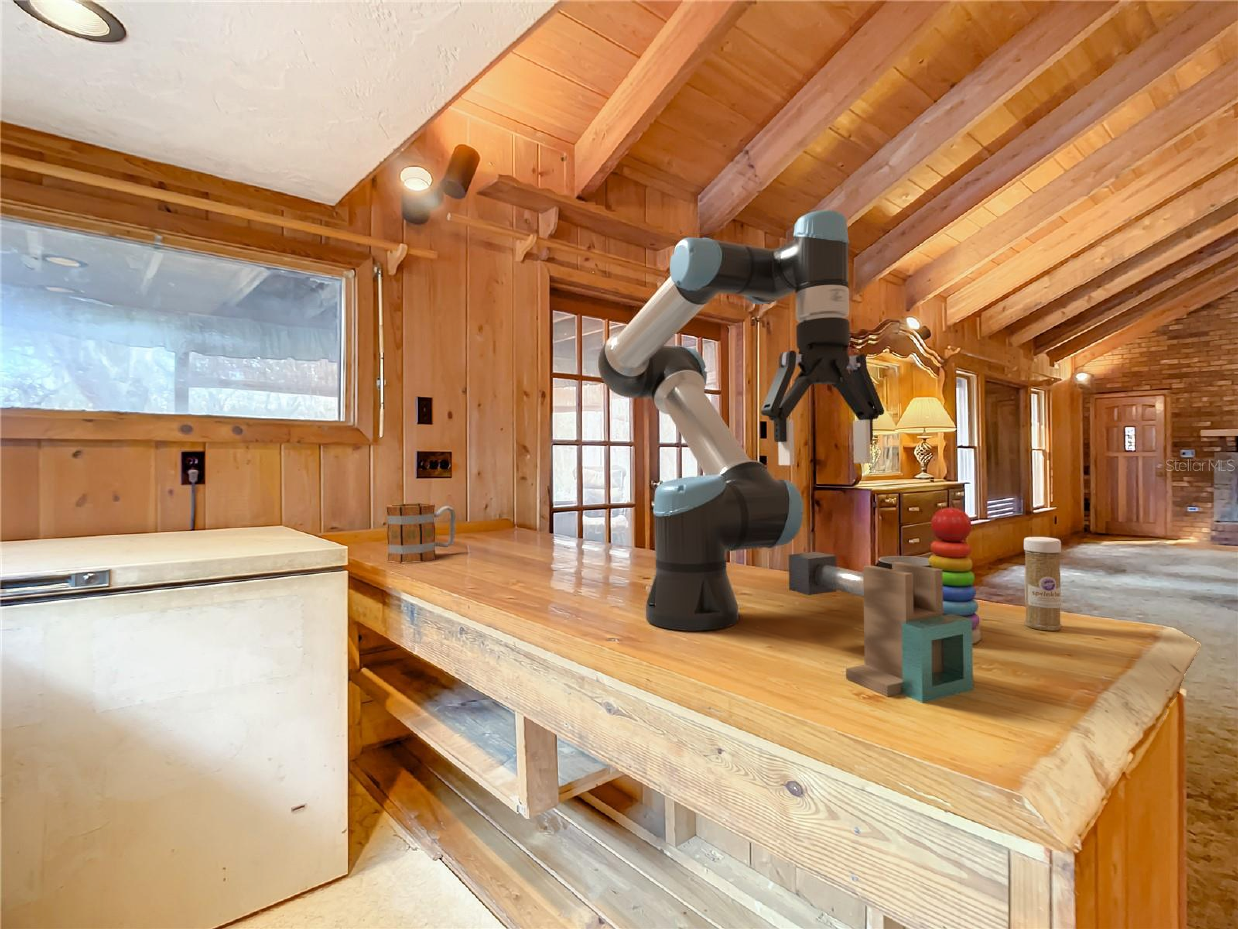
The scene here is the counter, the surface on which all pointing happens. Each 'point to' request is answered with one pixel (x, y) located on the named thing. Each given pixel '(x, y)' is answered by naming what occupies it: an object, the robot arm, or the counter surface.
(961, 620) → the spacer
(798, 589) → the shaft
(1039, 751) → the counter surface
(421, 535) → the mug
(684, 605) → the robot arm
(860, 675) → the bearing block
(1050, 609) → the sprinkles bottle
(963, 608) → the stacking toy
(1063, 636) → the counter surface
